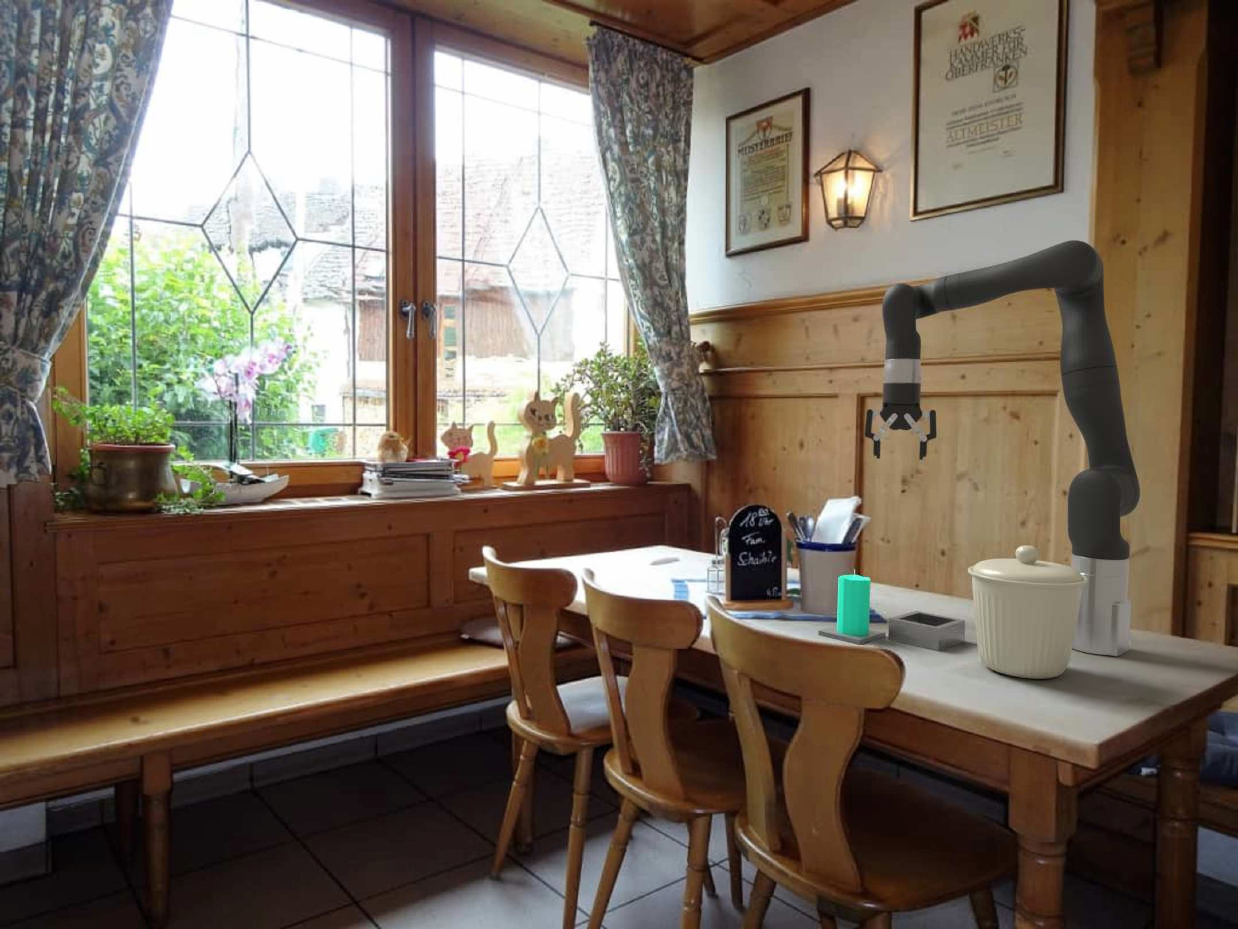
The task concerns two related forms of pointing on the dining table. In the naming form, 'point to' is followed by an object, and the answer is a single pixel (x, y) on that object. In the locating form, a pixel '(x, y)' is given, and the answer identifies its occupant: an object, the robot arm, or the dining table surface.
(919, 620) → the grey open box
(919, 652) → the dining table surface
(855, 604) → the candle
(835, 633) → the coaster
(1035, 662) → the canister
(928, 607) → the dining table surface
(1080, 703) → the dining table surface
